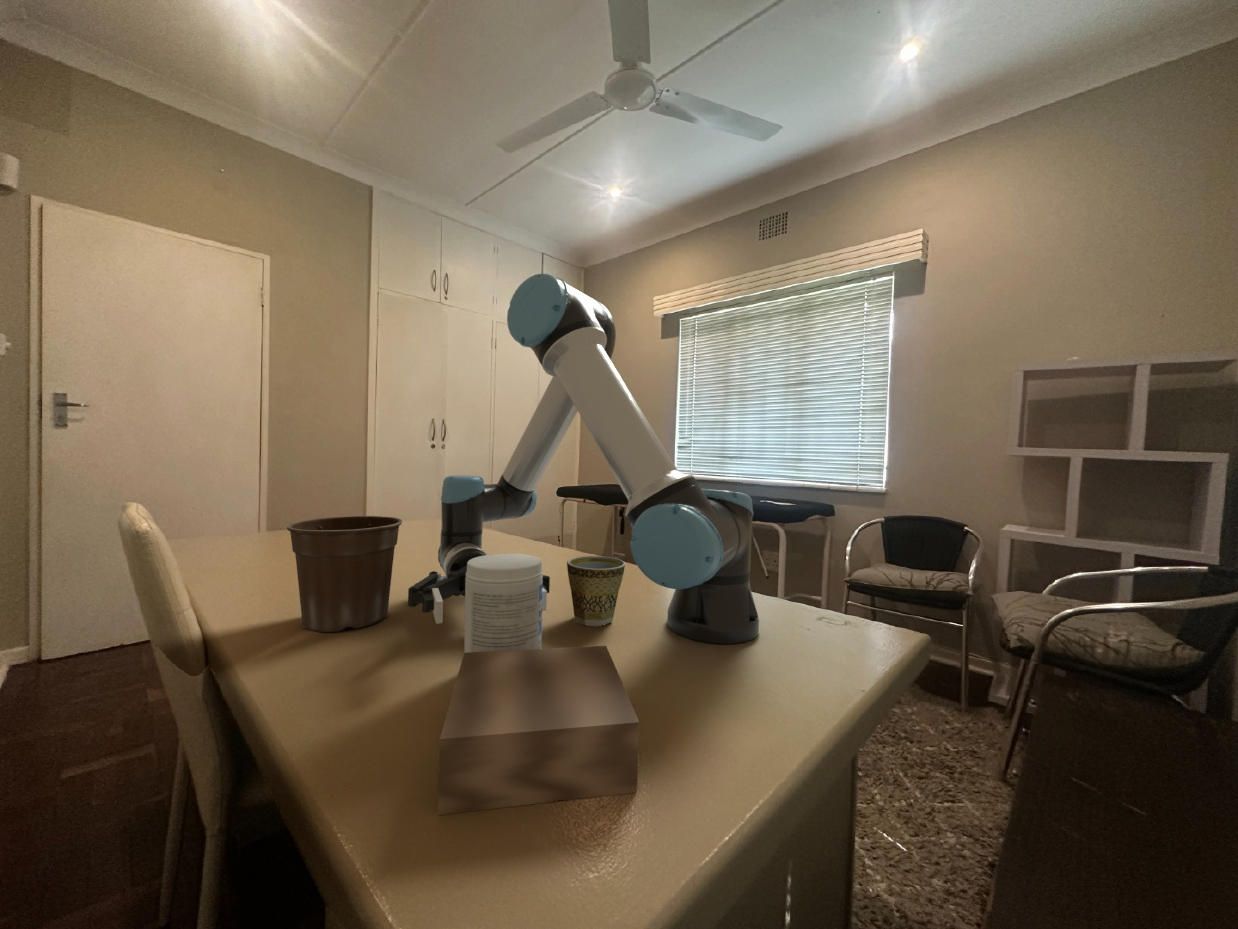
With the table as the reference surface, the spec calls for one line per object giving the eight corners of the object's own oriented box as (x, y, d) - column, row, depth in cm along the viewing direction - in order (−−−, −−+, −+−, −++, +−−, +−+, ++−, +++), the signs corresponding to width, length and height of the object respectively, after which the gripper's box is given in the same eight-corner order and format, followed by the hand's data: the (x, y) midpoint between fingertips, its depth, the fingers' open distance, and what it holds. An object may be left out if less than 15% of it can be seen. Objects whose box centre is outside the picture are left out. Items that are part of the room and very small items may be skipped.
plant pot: (257, 635, 69) (259, 527, 69) (329, 602, 86) (331, 513, 85) (364, 641, 69) (366, 531, 68) (416, 606, 85) (419, 517, 85)
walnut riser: (604, 696, 56) (606, 645, 55) (636, 792, 40) (639, 722, 40) (462, 706, 52) (464, 652, 52) (437, 815, 37) (439, 739, 36)
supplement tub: (555, 677, 60) (559, 562, 59) (487, 703, 53) (491, 573, 53) (514, 652, 67) (517, 549, 66) (449, 672, 60) (452, 558, 60)
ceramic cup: (622, 631, 76) (625, 570, 76) (561, 629, 76) (563, 567, 76) (623, 606, 89) (625, 553, 89) (570, 603, 89) (572, 551, 89)
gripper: (538, 584, 87) (581, 622, 68) (388, 598, 76) (388, 649, 57) (539, 543, 87) (582, 571, 68) (389, 552, 76) (390, 587, 57)
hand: (494, 606), depth 62 cm, fingers open, 13 cm apart
